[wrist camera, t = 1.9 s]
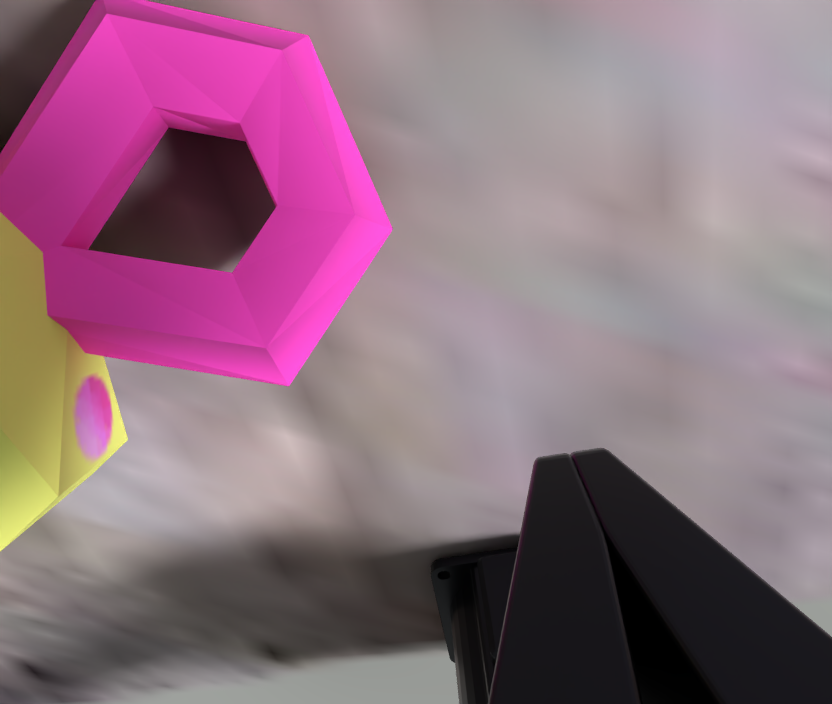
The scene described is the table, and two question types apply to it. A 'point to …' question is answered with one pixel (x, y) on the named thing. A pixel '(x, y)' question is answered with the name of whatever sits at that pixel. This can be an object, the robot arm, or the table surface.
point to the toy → (154, 280)
